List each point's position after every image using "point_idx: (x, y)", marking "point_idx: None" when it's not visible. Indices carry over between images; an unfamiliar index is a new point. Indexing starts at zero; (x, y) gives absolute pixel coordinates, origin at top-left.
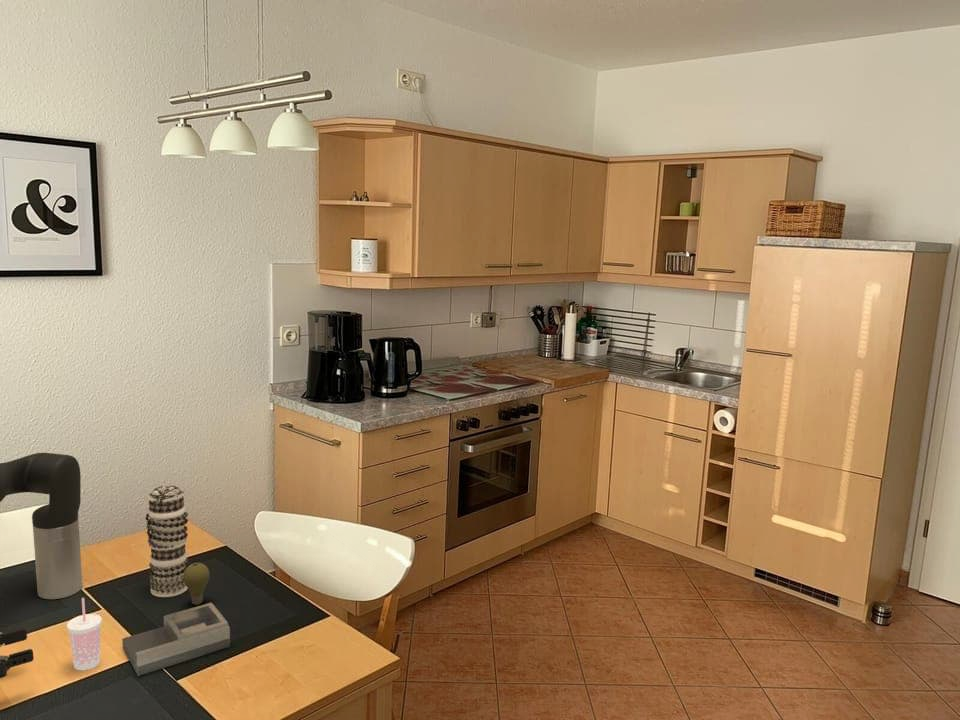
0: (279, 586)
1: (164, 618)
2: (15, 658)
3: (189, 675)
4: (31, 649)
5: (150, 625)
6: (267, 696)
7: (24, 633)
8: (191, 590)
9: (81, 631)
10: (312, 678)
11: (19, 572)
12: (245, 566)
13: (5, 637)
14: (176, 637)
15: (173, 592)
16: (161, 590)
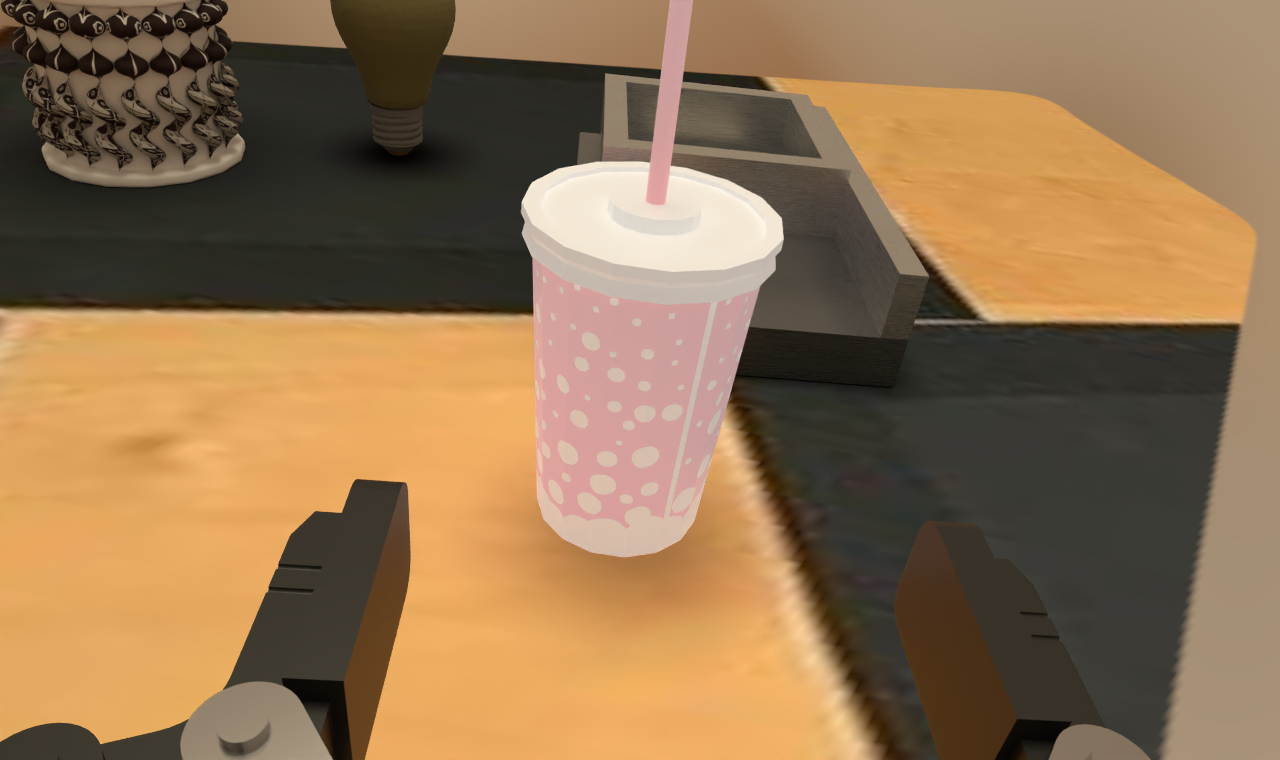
0: (488, 58)
1: (615, 155)
2: (1077, 683)
3: (960, 292)
4: (935, 521)
5: (430, 258)
6: (1165, 229)
7: (406, 524)
8: (412, 76)
9: (776, 253)
10: (1085, 165)
11: None
12: (253, 45)
13: (352, 695)
14: (817, 181)
15: (225, 148)
16: (190, 144)
